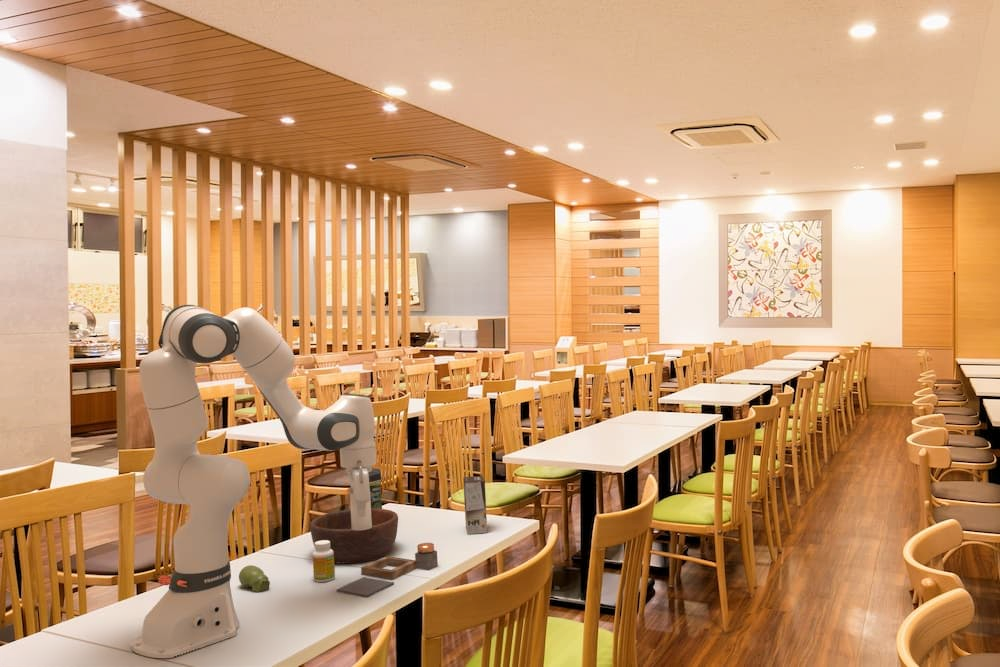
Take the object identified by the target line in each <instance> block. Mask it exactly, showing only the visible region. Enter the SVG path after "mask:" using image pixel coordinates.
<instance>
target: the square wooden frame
mask: <svg viewBox="0 0 1000 667" xmlns="http://www.w3.org/2000/svg"><path fill="white" fill-rule="evenodd" d="M414 558H415V559H409V558H403V557H396V556H389V555H385V556H382V557H380V558H378V559H377V560H376V559H375V561H372V562H370V563H367V564H366V565H362V566H361V567H360V570H361V573H360V575H363V576H368V577H373V578H377V579H379V578H380V579H384V580H385V579H386V580H391V581H393V580H395V579H398V578H400V577H402V576H403V575H406V574H408V573H410V572H413V571H414V570H416V569H418V570H424V571H425V570H426V571H431V570H432V569H434V568H436V567H437V566H439V564H438V563H439V562H438V550H434V551H433V552H429V553H428V554H423V553H419V552H418V551H417V552H415V553H414ZM387 566H388V567H389V566H390V567H395V568H391V569H389V568H385V567H387Z"/></svg>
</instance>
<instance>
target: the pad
mask: <svg viewBox="0 0 1000 667" xmlns="http://www.w3.org/2000/svg"><path fill="white" fill-rule="evenodd" d="M394 585H395V584H394V582H393V581H387V580H382V579H378V578H371V577H361V578H359V579H357V580H354V581H352V582H349V583H347V584H345V585H344V586H340V587H338V588H336V592H337V593H340V594H346V595H352V596H357V597H362V598H369V597H372V596H374V595H375V594H379V593H380V592H381V591H384V590H386V589H388V588H390V587H392V586H394Z"/></svg>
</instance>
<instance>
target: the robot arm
mask: <svg viewBox="0 0 1000 667" xmlns="http://www.w3.org/2000/svg"><path fill="white" fill-rule="evenodd" d="M157 342H158V344H157V345H158V346H159V348H158V349H156V350H152V351H151V352H149V353H147V354H146V355H145V356H144V357H143V358H142V359H141V360H140V362H139V369H138V370H139V379H140V386H141V393H142V396H143V401H144V405H145V408H146V412H147V414H148V417H149V421H150V425H151V429H152V432H153V438H154V454H153V458H152V460H151V461H150V462H149V463H148V464H147V466H146V468H145V470H144V472H143V473H144V474H143V477H142V478H143V480H142V481H143V487H144V490H145V493H147V495H148V496H150V498H153V499H156V500H158V501H161V502H164V503H167V504H176V505H177V504H178V505H179V504H180V505H189V514H188V517H187V522H186V523H184V524H182V525H181V526H180V527H179V528H178V529H177V530H176V531H175V533H174V536H173V556H174V569H173V571H172V574H171V576H169V575H166V574H162V575H159V578H158V584H160V585H164V586H168V589H167V591H166V592H165V593H164V594H163V596H162V597H161V598H160V599H159V600H158V601H157V603H156V604H155V605H154V606H153V607H152V608H151V610H150V611H148V613H147V614H146V615H145V617H144V619H143V625H142V636H141V637H138V638H137V639H135V640H133V641H132V642H131V645H130V648H131V650H132V651H133V652H134V653H136V654H137V655H141V656H143V657H148V658H155V659H171V658H175V657H174V656H176V657H178V656H177V655H179V656H181V655H184V654H186V652H187V653H190V652H192V651H191V650H193V651H195V649H196V650H198V648H199V649H201V648H203V647H207V646H210V645H213V644H215V643H218V642H221V641H224V640H227V639H229V638H232V637H235V636H237V629H238V627H239V626H240V620H239V618H238V616H237V612H236V609H235V606H234V605H235V604H234V601H233V596H232V591H231V583H230V582H231V578H232V573H231V572H232V571H231V563H230V561H229V556H228V554H229V553H228V528H229V522H230V518H231V515H232V513H233V511H234V509H235V508H236V506H237V504H238V503H240V502H241V501H242V500H243V499H244V498H245V497H246V495H247V494H248V492H249V488H250V485H251V473H250V469H249V467H248V465H247V464H246V463H245V462H244V461H243V460H241V459H237V458H234V457H232V456H229V455H228V456H227V455H224V454H202V453H200V452H199V448H198V439H200V438H201V437H202V436H203V434H204V433H205V432H206V430H207V429H208V424H209V421H208V417H207V413H206V410H205V407H204V403H203V399H202V397H201V392H200V388H199V386H198V382H197V379H196V368H197V365H198V364H212V363H215V362H218V361H220V360H221V359H223V358H225V357H227V356H228V357H229V356H230V355H231V356H232V357H233V358H234V359H235V360H236V362H237V363H238V364H239V366H240V367H241V368H242V369H243V370H244V371H245V373H246V374H247V375H248V376H249V378H250V379H251V380H252V381H253V383H254V384H255V385H256V387H257V389H258V391H259V392H260V394H261V395H262V397H263V398H264V399H265V400H266V402H267V404H268V405H269V406H270V407H271V409H272V411H273V412H274V413H275V415H276V416H277V417H278V419H279V420H280V422H281V425H282V428H283V431H284V434H285V436H286V439H287V441H288V442H289V443H290V444H291V445H292V446H293V447H295V448H296V449H298V450H317V451H328V452H332V451H333V452H334V451H337V450H339V460H340V467H341V468H344V469H345V472H346V474H348V480H349V484H350V488H351V487H352V489H353V496H354V500H355V503H357V508H358V516H359V517H365V515H366V514H365V507H366V502H369V501H370V489H369V475H368V472H371V471H372V468H373V467H372V466H376V464H377V450H376V445H377V444H376V441H375V436H374V433H375V428H376V423H375V413H374V407H373V403H372V400H371V398H370V397H368V396H367V395H365V394H355V393H343V394H340V396H339V398H338V399H337V400H336V401H335V402H334V403H333V404H331V405H330V406H329V407H326V408H325V409H323V410H322V409H314V408H310V407H309V406H306V405H304V404H303V403H302V402H301V400H299V398H298V396H296V394H295V392H294V391H293V390H292V388H291V386H290V385H289V384H288V382H287V380H288V378H289V377H291V375H292V374H293V371H294V368H295V365H296V358H295V354H294V353H293V350H292V348H291V347H290V346H289V344H288V342H286V340H285V338H283V337H282V335H281V334H280V332H279V331H278V330H277V329H276V328H275V327H274V326H273V325H272V324H271V323H270V322H269V321H268V320H267V319H266V318H265V317H264V316H262V314H260V313H259V312H258V311H257V310H256V309H254V308H251V307H247V306H246V307H245V306H244V307H239V308H236V309H234V310H232V311H230V312H229V313H228V314H227V315H224V316H220V315H218V314H216V313H214V312H212V311H211V310H208V309H207V308H204V307H200V306H198V305H194V304H184V305H180V306H176V307H174V308H173V309H171V310H170V312H168V313H167V314H166V316H165V318H164V320H163V323H162V328H161V332H160V335H159V340H158V341H157ZM189 651H190V652H189ZM183 653H184V654H183ZM180 654H181V655H180Z"/></svg>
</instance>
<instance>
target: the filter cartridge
mask: <svg viewBox="0 0 1000 667" xmlns="http://www.w3.org/2000/svg"><path fill="white" fill-rule="evenodd" d="M369 489H370V487H369ZM349 503H350V504H349V506H350V509H351V526H352V530H367V529H370V528H372V519H371V501H369V502H366V507H365V514H366V515H365V517H359V516H358V508H357V503H355V500H354V496H353V489H352V487H351V486H350V488H349Z"/></svg>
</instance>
